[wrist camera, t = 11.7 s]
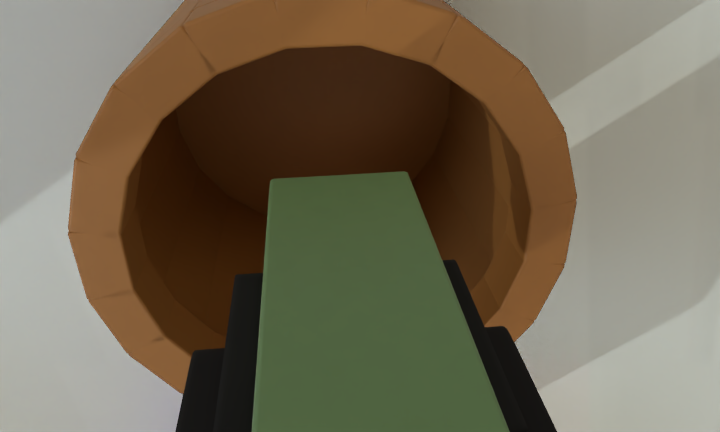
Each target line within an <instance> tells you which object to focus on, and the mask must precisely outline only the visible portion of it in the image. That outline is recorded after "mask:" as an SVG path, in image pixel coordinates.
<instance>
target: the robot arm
mask: <svg viewBox="0 0 720 432" xmlns="http://www.w3.org/2000/svg"><path fill="white" fill-rule="evenodd" d="M442 261H443V264H444V266H445V269H446V271H447V274H448V276H449V279H450V281H451V284H452V287H453V289H454V292H455V294H456V297H457V299H458V302H459V304H460V307H461V309H462V312H463V314H464V317H465V320H466V322H467V325H468V327H469V330H470V332H471V335H472V337H473V340H474V342H475V345H476V348H477V350H478V353H479V355H480V358H481V360H482V363H483V365H484V368H485V370H486V373H487V376H488V378H489V381H490V383H491V386H492V388H493V391H494V393H495V396H496V398H497V401H498V403H499V406H500V409H501V411H502V414H503V416H504V419H505V421H506V424H507V426H508V429H509V431H510V432H557V431H556V429H555V427H554V424H553V422H552V420H551V418H550V416H549V414H548V412H547V410H546V408H545V406H544V404H543V401H542V399H541V397H540V395H539V393H538V391H537V389H536V387H535V385H534V383H533V381H532V379H531V376H530V374H529V372H528V370H527V368H526V366H525V364H524V362H523V360H522V358H521V356H520V354H519V351H518V349H517V347H516V345H515V343H514V341H513V339H512V337H511V335H510V333H509V331H508V330H507V328H505V327H504V326H495V327H484V324H483V322H482V320H481V317H480V315H479V313H478V310H477V308H476V306H475V303H474V301H473V299H472V296H471V294H470V292H469V289H468V287H467V285H466V282H465V280H464V278H463V275H462V273H461V271H460V268H459V266H458V264H457V262H456V260H454V259H452V260H442ZM262 283H263V273H251V274H237V275H235V279H234V286H233V293H232V300H231V307H230V314H229V321H228V328H227V335H226V342H225V348H217V349H204V350H195V351H194V352H193V353H192V357H191V360H190V365H189V370H188V375H187V379H186V384H185V389H184V394H183V399H182V403H181V408H180V413H179V418H178V423H177V427H176V432H252V419H253V405H254V392H255V378H256V364H257V351H258V337H259V324H260V310H261V296H262Z"/></svg>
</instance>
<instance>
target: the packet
mask: <svg viewBox="0 0 720 432" xmlns="http://www.w3.org/2000/svg"><path fill="white" fill-rule="evenodd" d="M252 432H510V431H509V429H508V426H507V424H506V421H505V419H504V416H503V414H502V411H501V409H500V406H499V403H498V401H497V398H496V396H495V393H494V391H493V388H492V386H491V383H490V381H489V378H488V376H487V373H486V370H485V368H484V365H483V363H482V360H481V358H480V355H479V353H478V350H477V348H476V345H475V342H474V340H473V337H472V335H471V332H470V330H469V327H468V325H467V322H466V320H465V317H464V314H463V312H462V309H461V307H460V304H459V302H458V299H457V297H456V294H455V292H454V289H453V287H452V284H451V281H450V279H449V276H448V274H447V271H446V269H445V266H444V264H443V261H442V259H441V256H440V253H439V251H438V248H437V246H436V243H435V241H434V238H433V236H432V233H431V231H430V228H429V225H428V223H427V220H426V218H425V215H424V213H423V210H422V208H421V205H420V203H419V200H418V198H417V195H416V192H415V190H414V187H413V185H412V182H411V180H410V177H409V175H408V172H405V171H402V172H384V173H367V174H349V175H332V176H314V177H296V178H279V179H272V180H271V181H270V187H269V201H268V215H267V228H266V242H265V255H264V269H263V283H262V296H261V310H260V324H259V337H258V351H257V364H256V378H255V392H254V405H253V419H252Z"/></svg>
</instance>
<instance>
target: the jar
mask: <svg viewBox="0 0 720 432" xmlns="http://www.w3.org/2000/svg"><path fill="white" fill-rule="evenodd" d="M402 171H405V172H408V175H409V177H410V180H411V182H412V185H413V187H414V190H415V192H416V195H417V198H418V200H419V203H420V205H421V208H422V210H423V213H424V215H425V218H426V220H427V223H428V225H429V228H430V231H431V233H432V236H433V238H434V241H435V243H436V246H437V248H438V251H439V253H440V256H441V259H442V260H452V259H454V260H456V262H457V264H458V266H459V268H460V271H461V273H462V275H463V278H464V280H465V282H466V285H467V287H468V289H469V292H470V294H471V296H472V299H473V301H474V303H475V306H476V308H477V310H478V313H479V315H480V317H481V320H482V322H483V324H484V327H495V326H504V327H505V328H507V330H508V331H509V333H510V335H511V337H512V339H513V341H514V342H515V341H516V340H517V339H518V338H519V337H520V336H521V335H522V334H523V333H524V332H525V331H526V330H527V329H528V328H529V327H530V326H531V325H532V324H533V323H534V320H535V319H536V318H537V316H538V314H539V312H540V310H541V309H542V307H543V305H544V303H545V301H546V299H547V298H548V296H549V294H550V292H551V290H552V288H553V286H554V285H555V283H556V281H557V279H558V277H559V275H560V274H561V272H562V270H563V268H564V263H565V262H566V257H567V252H568V246H569V241H570V235H571V230H572V224H573V219H574V213H575V208H576V199H577V194H576V189H575V183H574V177H573V172H572V166H571V160H570V154H569V149H568V143H567V137H566V132H565V131H564V127H563V125H562V124H561V122H560V120H559V119H558V117H557V115H556V114H555V112H554V111H553V109H552V107H551V106H550V104H549V102H548V101H547V99H546V97H545V96H544V94H543V93H542V91H541V89H540V88H539V86H538V84H537V83H536V81H535V79H534V78H533V76H532V74H531V73H530V71H529V70H528V68H527V67H526V66H525V65H524V64H523V62H521V61H520V60H519V59H517V58H516V57H515V56H514V55H512V54H511V53H510V52H508V51H507V50H506V49H505V48H503V47H502V46H501V45H499V44H498V43H497V42H496V41H494V40H493V39H492V38H490V37H489V36H488V35H487V34H485V33H484V32H483V31H481V30H480V29H479V28H478V27H476V26H475V25H474V24H472V23H471V22H470V21H469V20H467V19H466V18H465V17H463V16H462V15H461V14H460V13H458V12H457V11H456V10H454V9H453V8H452V7H451V6H449V5H448V4H447V3H445V2H444V1H443V0H185V1H184V2H183V3H182V4H181V5H180V7H179V8H178V9H177V10H176V11H175V12H174V13H173V15H172V16H171V17H170V18H169V19H168V20H167V22H166V23H165V24H164V25H163V26H162V27H161V29H160V30H159V31H158V32H157V33H156V34H155V36H154V37H153V38H152V39H151V40H150V41H149V43H148V44H147V45H146V46H145V47H144V48H143V50H142V51H141V52H140V53H139V54H138V55H137V56H136V58H135V59H134V60H133V61H132V62H131V64H130V65H129V66H128V67H127V68H126V69H125V71H124V72H123V73H122V74H121V75H120V76H119V78H118V79H117V80H116V81H115V83H114V84H113V85H112V86H111V88H110V90H109V92H108V94H107V95H106V97H105V99H104V101H103V103H102V105H101V107H100V109H99V111H98V113H97V115H96V117H95V118H94V120H93V122H92V124H91V126H90V128H89V130H88V132H87V134H86V136H85V138H84V139H83V141H82V143H81V145H80V147H79V149H78V151H77V153H76V158H75V160H74V170H73V181H72V191H71V202H70V213H69V224H68V229H69V232H68V236H69V239H70V243H71V246H72V249H73V253H74V256H75V259H76V263H77V266H78V270H79V273H80V276H81V280H82V283H83V286H84V290H85V293H86V297H87V299H89V302H90V304H91V305H92V306H93V308H94V309H95V310H96V312H97V313H98V315H99V316H100V317H101V319H102V320H103V321H104V323H105V324H106V325H107V327H108V328H109V329H110V331H111V332H112V334H113V335H114V336H115V338H116V339H117V340H118V342H119V343H120V344H121V346H122V347H123V348H124V350H125V351H126V353H129V355H130V356H131V357H132V358H133V359H135V360H136V361H138V362H139V363H140V364H142V365H143V366H144V367H146V368H147V369H148V370H150V371H151V372H153V373H154V374H155V375H157V376H158V377H159V378H161V379H162V380H163V381H165V382H166V383H168V384H169V385H170V386H172V387H173V388H174V389H176V390H177V391H178V392H180V393H182V394H184V389H185V384H186V379H187V375H188V370H189V365H190V360H191V357H192V353H193V352H194V351H195V350H204V349H217V348H225V342H226V335H227V328H228V321H229V314H230V307H231V300H232V293H233V286H234V279H235V275H237V274H251V273H263V269H264V255H265V242H266V228H267V215H268V201H269V187H270V181H271V180H272V179H279V178H296V177H314V176H332V175H349V174H367V173H384V172H402Z"/></svg>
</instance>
